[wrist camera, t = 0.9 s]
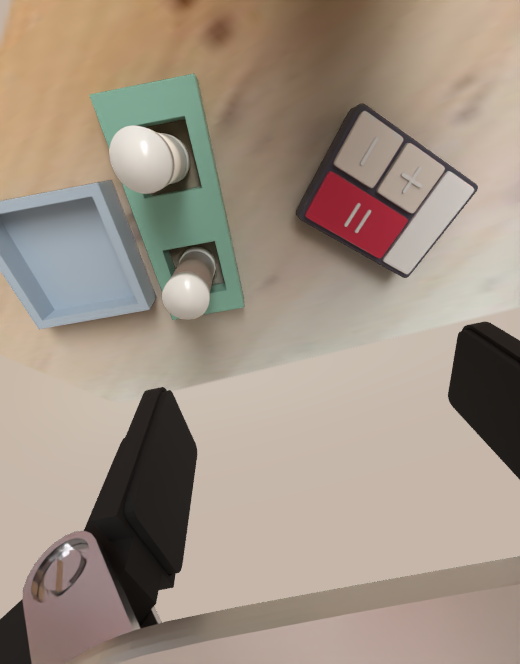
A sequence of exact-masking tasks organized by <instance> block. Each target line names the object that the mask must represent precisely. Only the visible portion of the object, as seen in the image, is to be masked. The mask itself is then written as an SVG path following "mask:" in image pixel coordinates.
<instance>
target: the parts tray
mask: <svg viewBox="0 0 520 664" xmlns="http://www.w3.org/2000/svg"><path fill="white" fill-rule="evenodd" d="M0 271H1V273H2V274H3V276H4V277H5V279H6V280H7V282H8V283H9V285H10V286H11V288H12V289H13V291H14V293H15V294H16V296H17V297H18V299H19V300H20V302H21V303H22V305H23V306H24V308H25V309H26V311H27V312H28V314H29V315H30V317H31V318H32V320H33V321H34V323H35V324H36V326H37V327H38V329H44V328H49V327H55V326H61V325H66V324H72V323H77V322H83V321H89V320H94V319H100V318H106V317H111V316H117V315H123V314H128V313H134V312H140V311H145V310H150V308H151V306H152V305H153V303H154V301H155V299H156V298H157V297H156V294H155V292H154V289H153V286H152V284H151V281H150V279H149V276H148V273H147V271H146V268H145V266H144V263H143V260H142V258H141V255H140V253H139V250H138V247H137V245H136V242H135V240H134V237H133V234H132V232H131V229H130V226H129V224H128V221H127V219H126V216H125V213H124V211H123V208H122V206H121V203H120V200H119V198H118V195H117V193H116V190H115V187H114V185H113V182H112V180H108V181H103V182H97V183H92V184H87V185H82V186H77V187H71V188H66V189H61V190H56V191H50V192H45V193H40V194H35V195H30V196H24V197H19V198H14V199H9V200H3V201H0Z"/></svg>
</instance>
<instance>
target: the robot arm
mask: <svg viewBox="0 0 520 664" xmlns="http://www.w3.org/2000/svg"><path fill="white" fill-rule="evenodd" d="M448 397H449V401H450V403H451V405H452V406H453V407H454V408H455V410H456V411H457V412H458V413H459V414H460V415H461V416H462V417H463V418H464V419H465V420H466V421H467V423H468V424H469V425H470V426H471V427H472V428H473V429H474V430H475V431H476V432H477V434H479V436H480V437H481V438H482V439H483V440H484V441H485V442H486V443H487V444H488V446H489V447H491V449H492V450H493V451H494V452H495V453H496V454H497V455H498V456H499V457H500V459H501V460H502V461H503V462H504V463H505V464H506V465H507V466H508V467H509V468H510V469H511V470H512V472H513V473H514V474H515V475H516V476H517V477H518V478H519V479H520V341H519V340H518V339H516V338H514V337H513V336H511V335H509V334H508V333H506V332H504V331H503V330H501V329H499V328H498V327H496V326H494V325H493V324H491V323H489V322H481V323H476V324H471V325H467V326H465V327H464V328H463V329H462V331H461V332H459V334H458V338H457V344H456V350H455V356H454V362H453V368H452V374H451V380H450V386H449V392H448ZM196 460H197V448H196V444H195V442H194V439H193V437H192V435H191V433H190V431H189V429H188V426H187V424H186V422H185V420H184V417H183V415H182V413H181V411H180V409H179V406H178V404H177V402H176V400H175V397H174V395H173V393H172V392H171V391H170V390H169V391H166V389H165V388H164V387H161V388H156V389H151V390H147V391H145V392H144V394H143V396H142V398H141V401H140V403H139V406H138V408H137V411H136V413H135V415H134V418H133V420H132V423H131V425H130V427H129V431H128V432H127V435H126V437H125V438H124V439H123V440H122V442H121V444H120V447H119V449H118V451H117V453H116V456H115V458H114V460H113V463H112V465H111V468H110V470H109V472H108V475H107V477H106V479H105V482H104V484H103V487H102V489H101V491H100V494H99V496H98V498H97V501H96V503H95V506H94V508H93V510H92V513H91V515H90V517H89V520H88V522H87V525H86V527H85V529H84V531H77V532H73V533H71V534H68V535H66V536H64V537H62V538H61V539H59V540H58V541H56V542H55V543H54V544H53V545H51V546H50V547H49V548H48V549H47V550H46V551H45V552H44V553H43V554H42V556H41V557H40V558H39V559H38V561H37V562H36V563H35V564H34V566H33V568H32V570H31V571H30V573H29V575H28V577H27V579H26V582H25V585H24V588H23V599H22V600H21V601H20V602H19V603H18V604H17V605H16V606H14V607H13V608H12V609H11V610H10V611H9V612H8V613H7V614H6V615H5V616H4V617H3V618H1V619H0V664H520V557H513V558H507V559H502V560H496V561H490V562H485V563H479V564H473V565H467V566H462V567H456V568H451V569H445V570H439V571H433V572H428V573H423V574H417V575H411V576H405V577H400V578H395V579H389V580H383V581H377V582H372V583H366V584H361V585H355V586H349V587H344V588H338V589H333V590H328V591H323V592H317V593H311V594H306V595H301V596H295V597H289V598H284V599H278V600H274V601H268V602H262V603H257V604H251V605H246V606H241V607H235V608H231V609H225V610H221V611H216V612H211V613H206V614H201V615H197V616H192V617H187V618H182V619H177V620H172V621H167V622H164V623H162V622H161V620H160V618H159V616H158V614H157V611H156V610H155V607H154V605H155V604H156V600H157V595H158V590H162V589H167V588H173V587H174V580H175V573H179V572H180V571H181V568H182V563H183V555H184V548H185V541H186V534H187V526H188V519H189V511H190V504H191V496H192V489H193V482H194V475H195V474H194V473H195V467H196Z"/></svg>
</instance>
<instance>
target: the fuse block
mask: <svg viewBox="0 0 520 664" xmlns="http://www.w3.org/2000/svg"><path fill="white" fill-rule="evenodd" d="M90 98H91V101H92V103H93V106H94V109H95V112H96V114H97V117H98V120H99V122H100V125H101V128H102V130H103V133H104V136H105V139H106V141H107V144H108V147H109V149H110V144H111V141H112V139H113V137H114V135H115V134H116V133H117V132H118V131H119V130H120V129H122V128H124V127H127V126H133V125H134V126H141V127H149V126H154V125H159V124H164V123H169V122H174V121H179V120H184V119H186V123H187V128H188V132H189V136H190V140H191V144H192V148H193V152H194V157H195V161H196V165H197V169H198V173H199V177H200V181H201V186H200V187H195V188H190V189H184V190H179V191H174V192H169V193H163V194H158V195H153V196H151V194H150V193H149V194H143V193H138V192H135V191H133V190H131V189H129V188H128V187H127V186H125V185H124V184H123V183H122V185H123V187H124V190H125V193H126V195H127V198H128V201H129V204H130V206H131V209H132V212H133V214H134V217H135V220H136V223H137V225H138V228H139V231H140V233H141V236H142V239H143V241H144V244H145V247H146V250H147V252H148V255H149V258H150V260H151V263H152V266H153V269H154V271H155V274H156V277H157V279H158V282H159V285H160V287H161V290H162V292H163V289H164V287H165V285H166V284H167V282H168V280H169V279H170V278H171V277H172V275H173V273H174V271H175V267H174V264H173V261H172V258H171V255H170V252H169V249H174V248H180V247H185V246H191V245H196V244H201V243H207V242H212V241H215V244H216V248H217V252H218V256H219V260H220V264H221V268H222V273H223V277H224V281H225V283H221V284H215V285H211V290H210V300H209V305H208V308H207V310H206V311H205V313H204V314H209V313H215V312H221V311H226V310H232V309H238V308H244V297H243V292H242V287H241V282H240V278H239V273H238V268H237V263H236V259H235V254H234V249H233V244H232V240H231V235H230V230H229V226H228V221H227V216H226V211H225V207H224V202H223V197H222V192H221V188H220V183H219V178H218V173H217V169H216V164H215V159H214V154H213V150H212V145H211V140H210V136H209V131H208V126H207V121H206V117H205V112H204V107H203V102H202V98H201V93H200V88H199V83H198V80H197V78H196V76H195V74H190V75H185V76H180V77H175V78H170V79H165V80H160V81H155V82H150V83H145V84H140V85H135V86H130V87H125V88H120V89H115V90H110V91H105V92H100V93H95V94H90ZM204 314H203V315H204ZM170 315H171V317H172V320H175V319H180V318H177V317H175V316H174V315H172V314H171V313H170Z"/></svg>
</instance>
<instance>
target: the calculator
mask: <svg viewBox="0 0 520 664" xmlns="http://www.w3.org/2000/svg"><path fill="white" fill-rule="evenodd" d="M477 189H478V186H477V185H476V184H475V183H474V182H472V181H471V180H470V179H468V178H467V177H465V176H464V175H463V174H461V173H460V172H458V171H457V170H456V169H454V168H453V167H451V166H450V165H449V164H447V163H446V162H444V161H443V160H442V159H440V158H439V157H437V156H436V155H435V154H433V153H432V152H431V151H429V150H428V149H426V148H425V147H424V146H422V145H421V144H419V143H418V142H417V141H415V140H414V139H412V138H411V137H410V136H408V135H407V134H405V133H404V132H403V131H401V130H400V129H398V128H397V127H396V126H394V125H393V124H391V123H390V122H389V121H387V120H386V119H385V118H383V117H382V116H380V115H379V114H378V113H376V112H375V111H373V110H372V109H371V108H369V107H368V106H366V105H365V104H359V105H357V106H356V107H354V108H352V109H351V110H350V111H349V113H348V115H347V117H346V119H345V120H344V122H343V124H342V126H341V128H340V130H339V132H338V133H337V135H336V137H335V139H334V141H333V143H332V145H331V147H330V148H329V150H328V152H327V154H326V156H325V158H324V160H323V162H322V163H321V165H320V167H319V169H318V171H317V173H316V175H315V177H314V178H313V180H312V182H311V184H310V186H309V188H308V190H307V191H306V193H305V195H304V197H303V199H302V201H301V203H300V205H299V206H298V208H297V210H296V215H297V216H298V217H299V219H300V220H302V221H304V222H306V223H307V224H309V225H311V226H313V227H314V228H316V229H318V230H320V231H322V232H323V233H325V234H327V235H329V236H330V237H332V238H334V239H336V240H338V241H339V242H341V243H343V244H345V245H346V246H348V247H350V248H352V249H354V250H355V251H357V252H359V253H361V254H362V255H364V256H366V257H368V258H370V259H371V260H373V261H375V262H377V263H378V264H380V265H382V266H384V267H386V268H387V269H389V270H391V271H393V272H394V273H396V274H398V275H400V276H402V277H404V278H407V277H408V276H409V275H410V274H411V273H412V272H413V270H414V269H415V268H416V267H417V265H418V264H419V263H420V262H421V260H422V259H423V258H424V257H425V255H426V254H427V253H428V252H429V250H430V249H431V248H432V247H433V245H434V244H435V243H436V241H437V240H438V239H439V238H440V236H441V235H442V234H443V233H444V231H445V230H446V229H447V228H448V226H449V225H450V224H451V223H452V221H453V220H454V219H455V218H456V216H457V215H458V214H459V213H460V211H461V210H462V209H463V208H464V206H465V205H466V204H467V202H468V201H469V200H470V199H471V197H472V196H473V195H474V194H475V192H476V191H477Z"/></svg>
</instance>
